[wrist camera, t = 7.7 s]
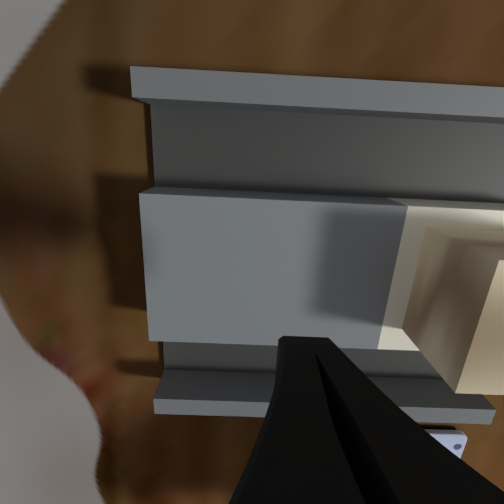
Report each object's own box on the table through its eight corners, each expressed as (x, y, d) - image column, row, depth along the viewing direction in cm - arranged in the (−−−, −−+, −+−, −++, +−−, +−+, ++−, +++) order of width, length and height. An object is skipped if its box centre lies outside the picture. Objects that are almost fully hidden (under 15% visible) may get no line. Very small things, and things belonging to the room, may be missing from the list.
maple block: (505, 333, 15) (593, 397, 11) (401, 329, 15) (455, 393, 11) (542, 231, 13) (661, 267, 9) (426, 226, 13) (499, 260, 9)
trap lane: (460, 389, 19) (490, 424, 17) (166, 379, 19) (154, 413, 16) (557, 102, 14) (621, 94, 11) (151, 80, 13) (129, 66, 11)
